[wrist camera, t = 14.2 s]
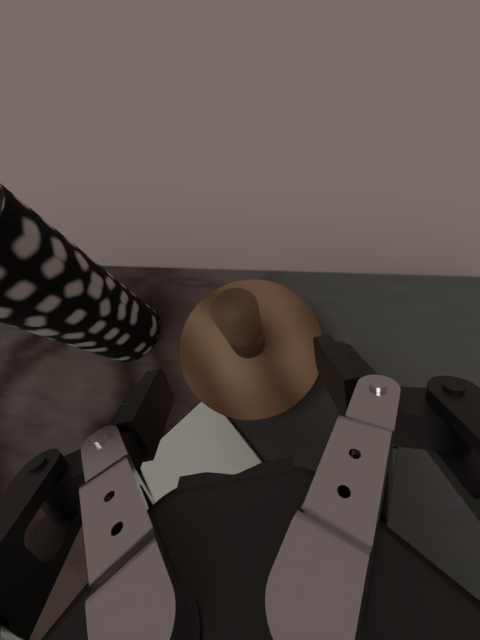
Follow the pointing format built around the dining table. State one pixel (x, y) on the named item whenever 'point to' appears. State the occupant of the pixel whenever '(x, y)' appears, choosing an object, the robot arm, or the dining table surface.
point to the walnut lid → (250, 349)
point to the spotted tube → (66, 290)
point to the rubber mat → (198, 451)
